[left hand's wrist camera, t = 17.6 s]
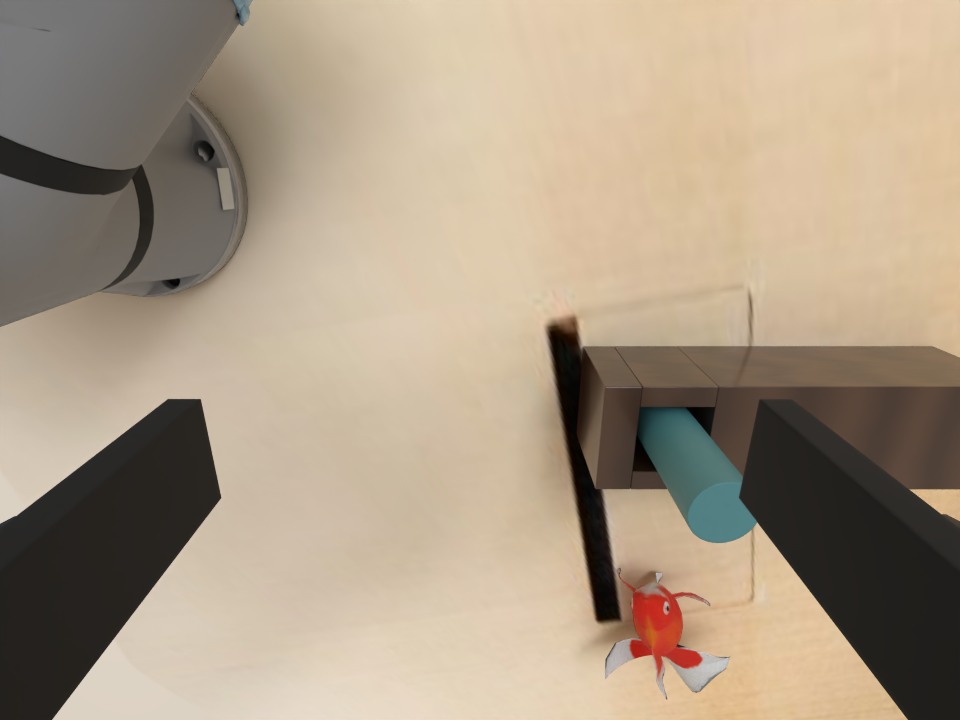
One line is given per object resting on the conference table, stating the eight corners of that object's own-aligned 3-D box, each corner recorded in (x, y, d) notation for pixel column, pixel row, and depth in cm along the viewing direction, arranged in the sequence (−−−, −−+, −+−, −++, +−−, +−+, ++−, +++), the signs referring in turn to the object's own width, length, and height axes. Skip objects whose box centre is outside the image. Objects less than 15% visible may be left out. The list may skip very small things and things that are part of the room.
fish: (754, 566, 44) (758, 701, 38) (715, 626, 55) (714, 738, 49) (622, 536, 47) (605, 655, 41) (611, 599, 58) (597, 700, 52)
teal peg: (610, 407, 43) (673, 528, 29) (635, 366, 42) (714, 471, 28) (652, 426, 44) (733, 553, 30) (678, 386, 42) (777, 498, 28)
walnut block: (576, 434, 45) (595, 489, 38) (582, 346, 42) (605, 386, 35) (904, 434, 45) (988, 489, 38) (932, 346, 42) (1030, 386, 35)
